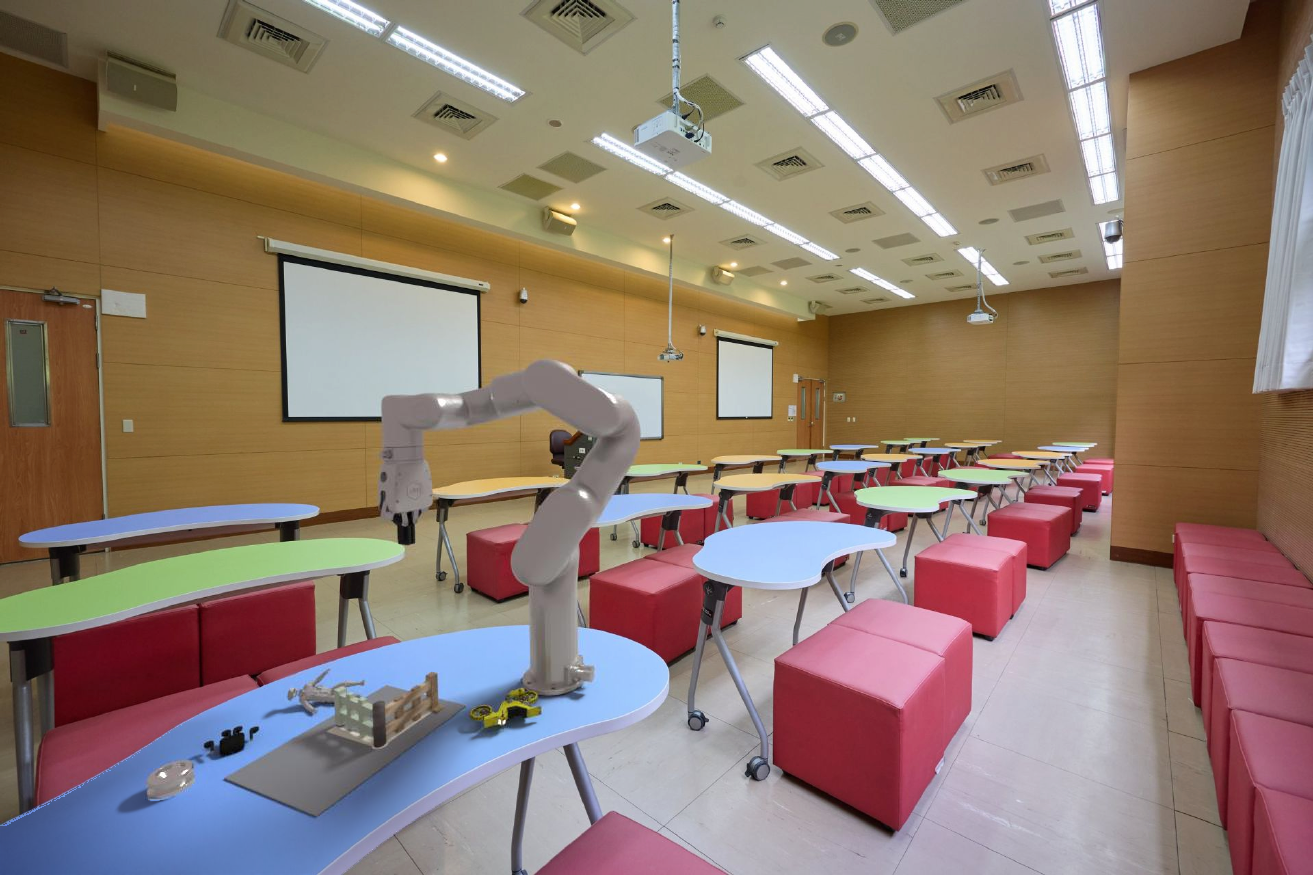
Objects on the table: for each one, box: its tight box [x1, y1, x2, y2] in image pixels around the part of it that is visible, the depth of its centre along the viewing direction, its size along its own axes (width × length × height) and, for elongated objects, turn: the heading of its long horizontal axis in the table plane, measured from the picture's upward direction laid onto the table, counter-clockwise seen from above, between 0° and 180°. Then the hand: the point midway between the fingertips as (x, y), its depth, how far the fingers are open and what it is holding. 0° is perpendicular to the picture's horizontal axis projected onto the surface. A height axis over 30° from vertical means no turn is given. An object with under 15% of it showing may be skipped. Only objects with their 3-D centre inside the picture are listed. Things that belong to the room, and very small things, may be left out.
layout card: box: [223, 684, 467, 818], centre depth 86 cm, size 20×28×1 cm
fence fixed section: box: [372, 671, 444, 748], centre depth 89 cm, size 13×4×7 cm, turn 158°
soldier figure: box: [286, 668, 366, 714], centre depth 97 cm, size 8×5×12 cm
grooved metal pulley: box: [146, 759, 196, 799], centre depth 75 cm, size 5×3×5 cm
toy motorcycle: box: [469, 687, 543, 731], centre depth 91 cm, size 12×4×7 cm
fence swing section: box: [333, 686, 373, 736], centre depth 87 cm, size 10×1×6 cm, turn 60°
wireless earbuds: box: [203, 725, 260, 757], centre depth 84 cm, size 7×2×5 cm
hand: (406, 543), depth 107 cm, fingers closed
